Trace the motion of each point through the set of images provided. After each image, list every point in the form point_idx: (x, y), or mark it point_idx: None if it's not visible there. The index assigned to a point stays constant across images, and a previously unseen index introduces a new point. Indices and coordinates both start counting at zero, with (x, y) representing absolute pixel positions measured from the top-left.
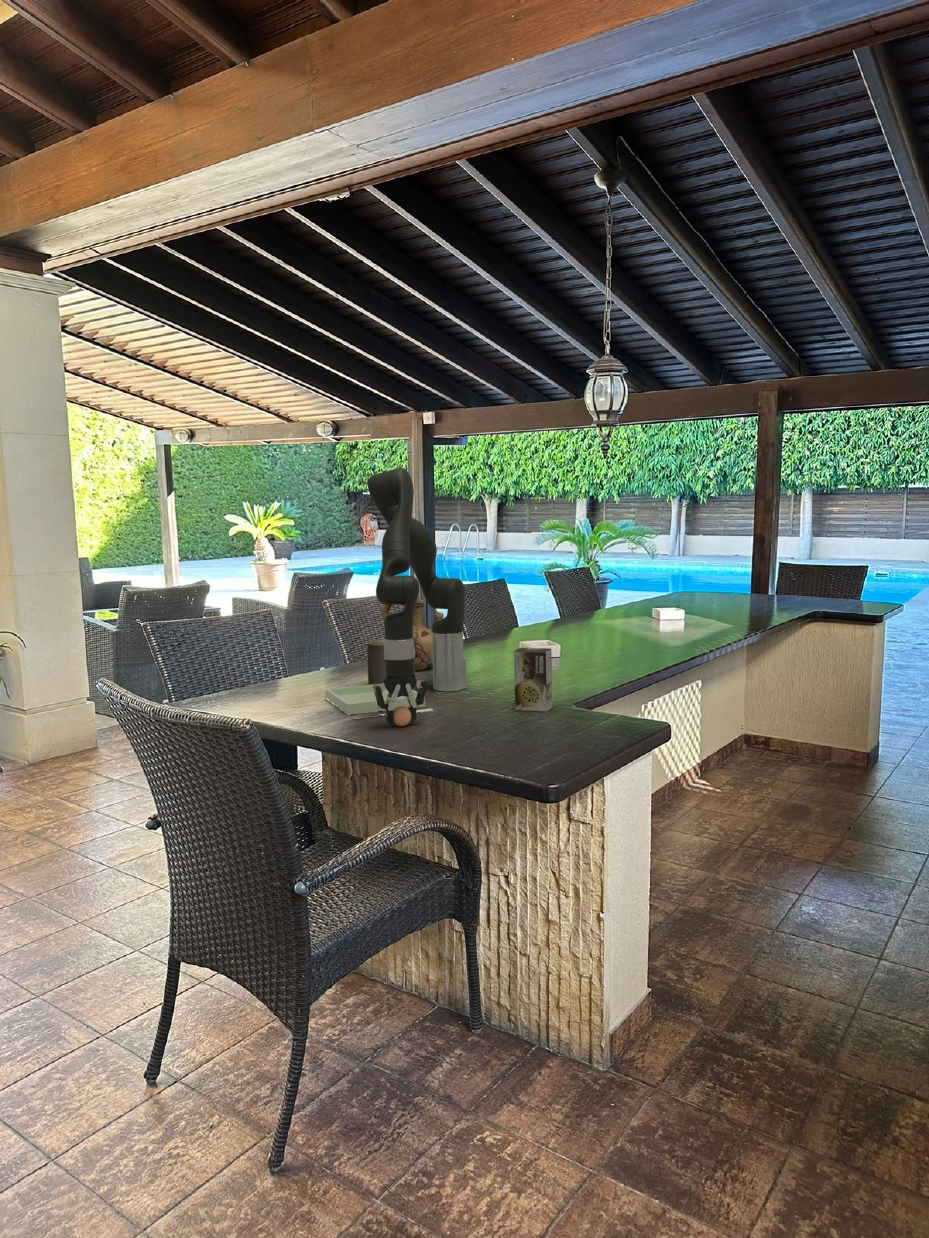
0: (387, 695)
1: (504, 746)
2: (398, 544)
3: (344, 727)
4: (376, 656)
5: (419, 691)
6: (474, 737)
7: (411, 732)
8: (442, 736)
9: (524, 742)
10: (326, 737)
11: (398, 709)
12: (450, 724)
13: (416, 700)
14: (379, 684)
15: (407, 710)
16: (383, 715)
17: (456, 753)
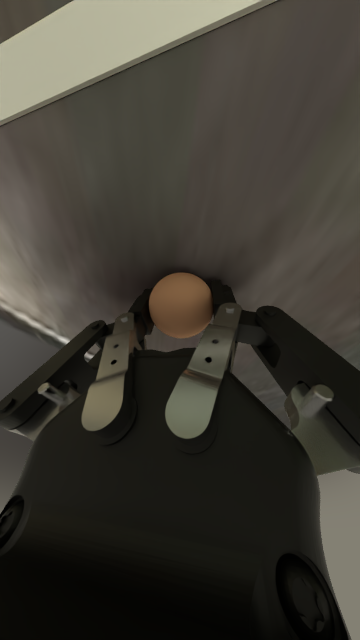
0: (105, 345)
1: (279, 413)
2: None
3: (25, 255)
4: None
5: (287, 373)
6: (275, 388)
7: (192, 343)
8: (234, 373)
9: None
10: (34, 324)
11: (167, 334)
12: (308, 318)
13: (249, 336)
14: (26, 435)
15: (197, 333)
16: (118, 59)
17: None
